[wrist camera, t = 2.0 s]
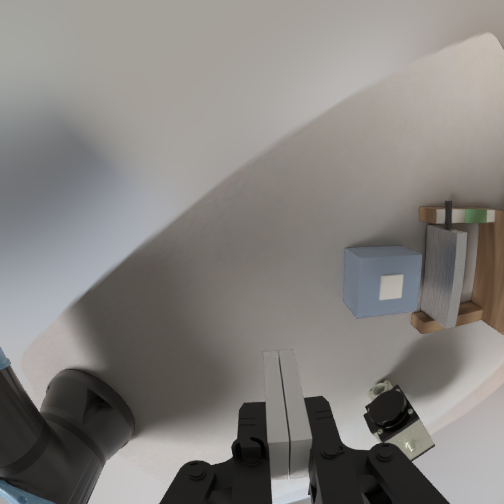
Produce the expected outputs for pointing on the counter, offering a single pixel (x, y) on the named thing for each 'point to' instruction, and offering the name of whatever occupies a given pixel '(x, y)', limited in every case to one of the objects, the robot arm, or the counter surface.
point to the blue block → (381, 280)
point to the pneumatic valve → (396, 421)
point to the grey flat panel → (444, 271)
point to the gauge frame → (487, 268)
